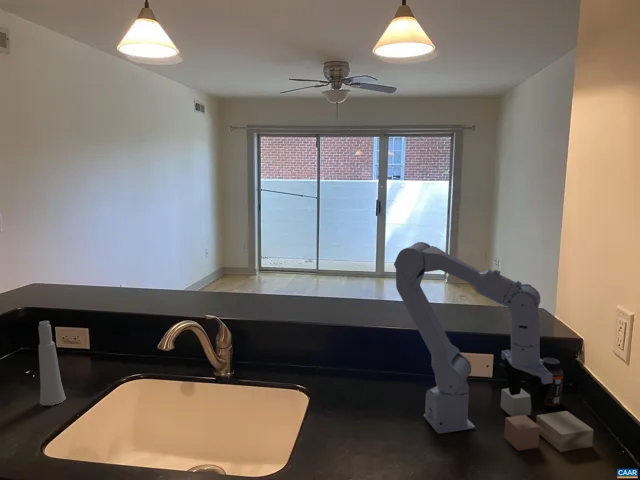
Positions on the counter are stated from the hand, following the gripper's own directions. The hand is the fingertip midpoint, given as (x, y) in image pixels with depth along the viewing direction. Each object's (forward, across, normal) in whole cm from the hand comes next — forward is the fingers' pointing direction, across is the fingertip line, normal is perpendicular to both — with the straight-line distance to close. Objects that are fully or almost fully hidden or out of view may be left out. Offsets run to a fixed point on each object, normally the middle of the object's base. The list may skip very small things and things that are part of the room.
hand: (525, 401), depth 103 cm
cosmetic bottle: (+2, +46, +109) cm, 118 cm away
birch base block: (+10, -1, -9) cm, 13 cm away
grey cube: (+9, +12, -6) cm, 17 cm away
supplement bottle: (+10, +14, -17) cm, 24 cm away
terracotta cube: (+10, 0, +1) cm, 10 cm away
